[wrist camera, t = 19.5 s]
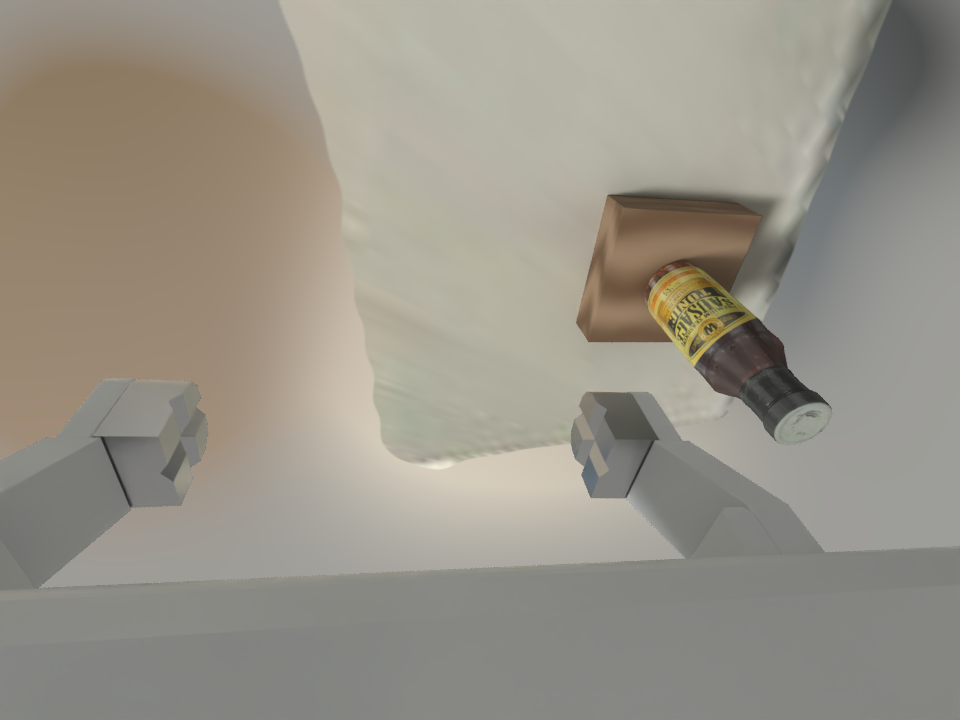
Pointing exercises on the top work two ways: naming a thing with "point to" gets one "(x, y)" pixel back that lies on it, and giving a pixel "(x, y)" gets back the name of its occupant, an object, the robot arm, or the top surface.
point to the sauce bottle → (734, 351)
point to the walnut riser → (656, 258)
